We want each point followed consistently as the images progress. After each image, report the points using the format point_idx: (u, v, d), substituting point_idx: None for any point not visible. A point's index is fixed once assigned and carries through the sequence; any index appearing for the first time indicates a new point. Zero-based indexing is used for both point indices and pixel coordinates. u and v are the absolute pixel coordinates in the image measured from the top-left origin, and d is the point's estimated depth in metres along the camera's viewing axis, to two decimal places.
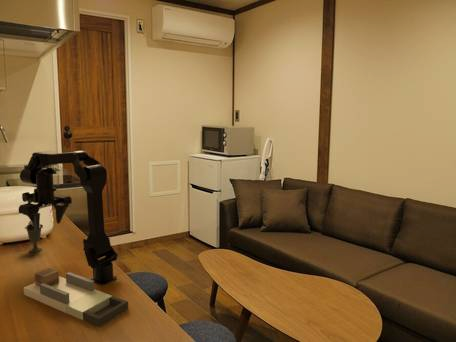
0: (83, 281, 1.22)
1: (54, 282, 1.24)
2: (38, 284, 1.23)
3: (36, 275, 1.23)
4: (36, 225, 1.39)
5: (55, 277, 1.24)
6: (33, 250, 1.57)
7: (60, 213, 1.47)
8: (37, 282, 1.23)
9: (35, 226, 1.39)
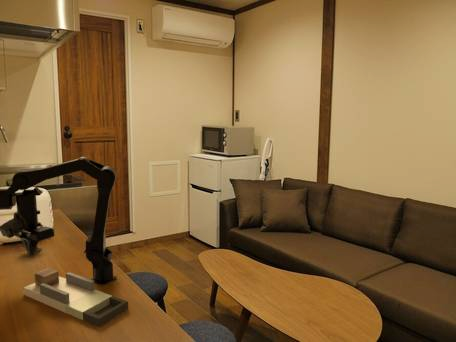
0: (83, 281, 1.22)
1: (54, 282, 1.24)
2: (38, 284, 1.23)
3: (36, 275, 1.23)
4: (34, 248, 1.27)
5: (55, 277, 1.24)
6: None
7: None
8: (37, 282, 1.23)
9: (32, 250, 1.27)
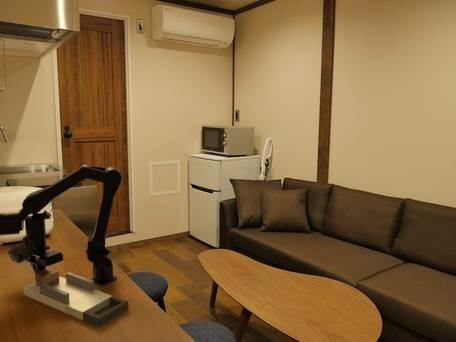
0: (83, 281, 1.22)
1: (54, 282, 1.24)
2: (39, 284, 1.23)
3: (36, 275, 1.23)
4: None
5: (55, 277, 1.24)
6: None
7: None
8: (37, 282, 1.23)
9: None
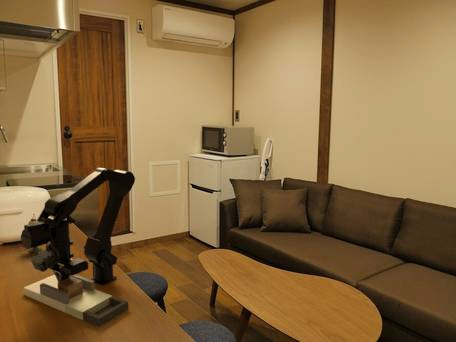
0: (83, 281, 1.22)
1: (77, 292, 1.18)
2: None
3: (59, 285, 1.17)
4: None
5: (79, 287, 1.18)
6: (33, 250, 1.57)
7: None
8: None
9: None
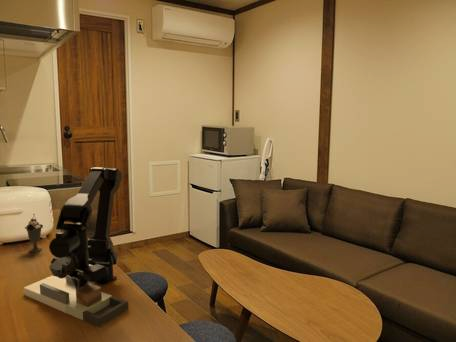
0: None
1: (96, 299, 1.14)
2: (80, 301, 1.13)
3: (77, 292, 1.13)
4: None
5: (98, 294, 1.14)
6: (33, 250, 1.57)
7: None
8: (78, 300, 1.13)
9: None
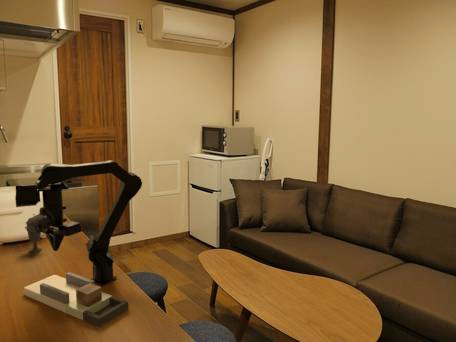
0: (83, 281, 1.22)
1: (96, 299, 1.14)
2: (80, 301, 1.13)
3: (78, 292, 1.13)
4: (59, 243, 1.25)
5: (98, 294, 1.14)
6: (33, 250, 1.57)
7: None
8: (78, 300, 1.13)
9: (57, 246, 1.24)
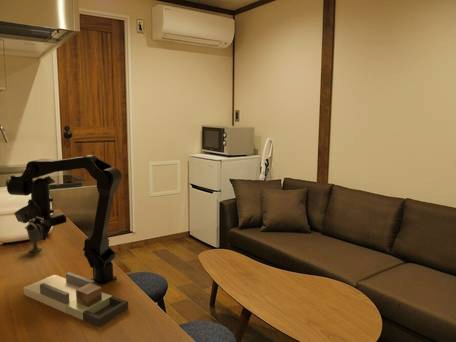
0: (83, 281, 1.22)
1: (96, 299, 1.14)
2: (80, 301, 1.13)
3: (78, 292, 1.13)
4: (47, 233, 1.34)
5: (98, 294, 1.14)
6: (33, 250, 1.57)
7: None
8: (78, 300, 1.13)
9: (45, 235, 1.34)
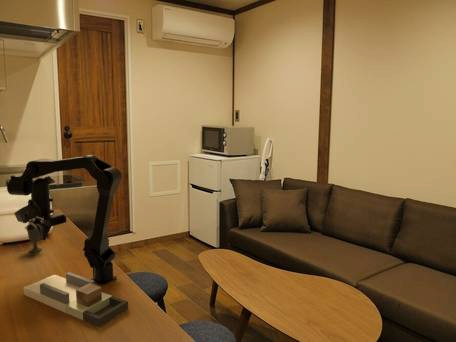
0: (83, 281, 1.22)
1: (96, 299, 1.14)
2: (80, 301, 1.13)
3: (78, 292, 1.13)
4: (47, 233, 1.34)
5: (98, 294, 1.14)
6: (33, 250, 1.57)
7: None
8: (78, 300, 1.13)
9: (45, 235, 1.34)
